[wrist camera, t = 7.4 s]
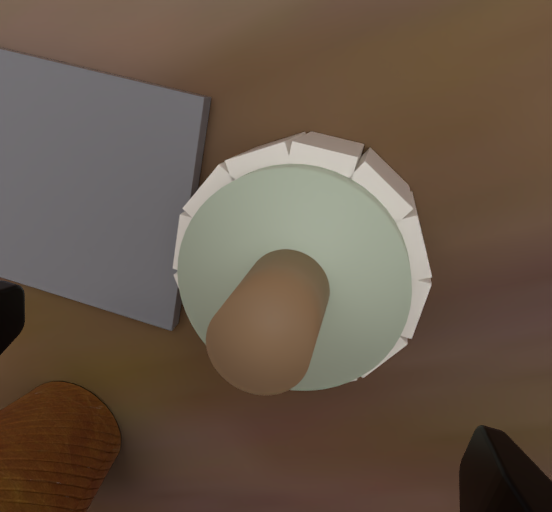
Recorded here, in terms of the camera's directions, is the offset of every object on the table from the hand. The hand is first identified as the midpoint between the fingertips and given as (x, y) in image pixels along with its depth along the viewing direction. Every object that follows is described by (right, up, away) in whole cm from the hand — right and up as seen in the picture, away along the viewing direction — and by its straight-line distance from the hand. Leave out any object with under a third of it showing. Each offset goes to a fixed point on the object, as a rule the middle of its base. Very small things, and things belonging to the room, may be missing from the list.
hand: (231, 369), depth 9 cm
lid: (+2, +1, +8) cm, 8 cm away
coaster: (-8, +5, +13) cm, 17 cm away
